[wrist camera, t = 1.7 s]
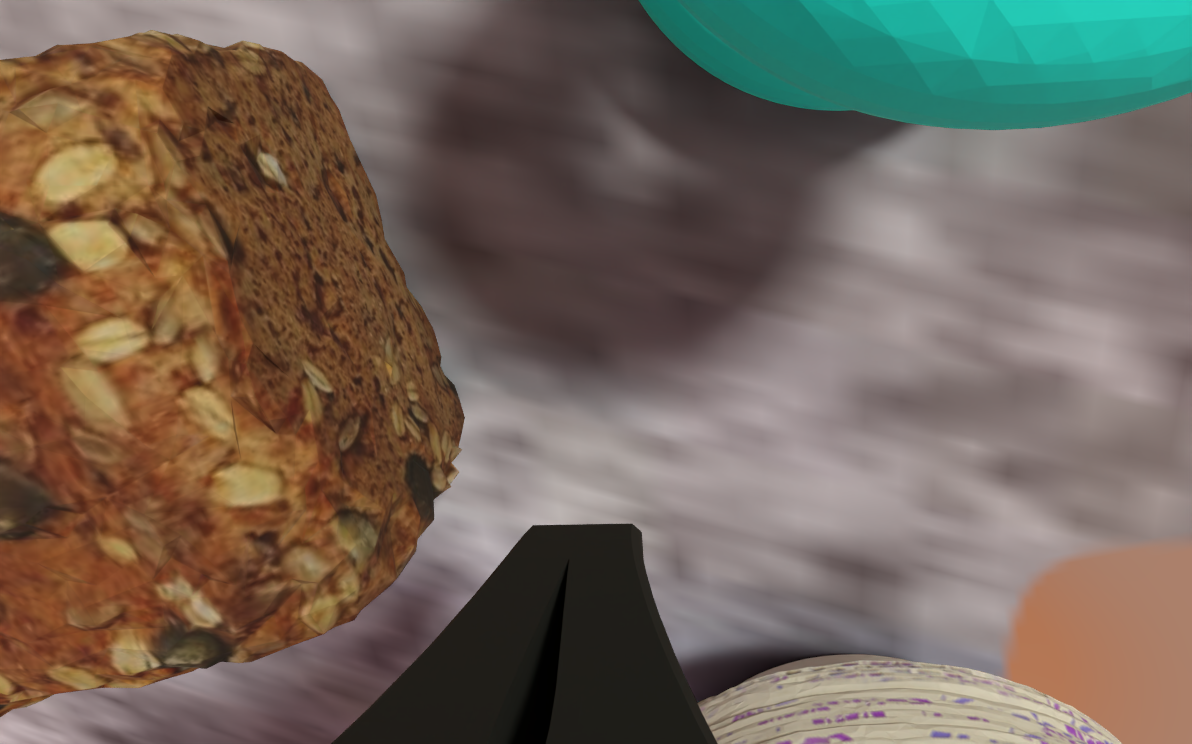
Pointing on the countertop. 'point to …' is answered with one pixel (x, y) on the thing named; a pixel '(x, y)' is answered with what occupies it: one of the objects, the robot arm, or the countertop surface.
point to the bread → (197, 367)
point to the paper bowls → (891, 707)
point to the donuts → (943, 56)
